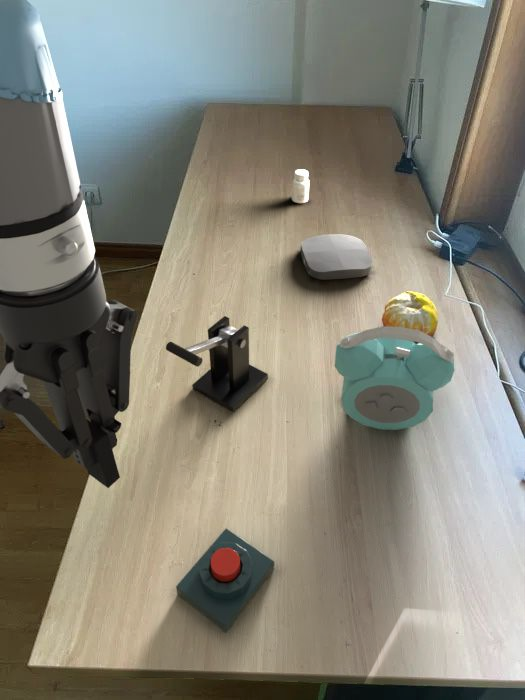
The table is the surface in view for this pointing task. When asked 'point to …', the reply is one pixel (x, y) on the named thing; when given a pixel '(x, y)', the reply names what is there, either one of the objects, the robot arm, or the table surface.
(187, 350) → the lever
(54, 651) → the table surface
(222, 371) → the bracket
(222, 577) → the button
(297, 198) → the pill bottle
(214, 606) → the button box
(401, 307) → the fruit
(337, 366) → the alarm clock
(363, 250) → the media streaming box
